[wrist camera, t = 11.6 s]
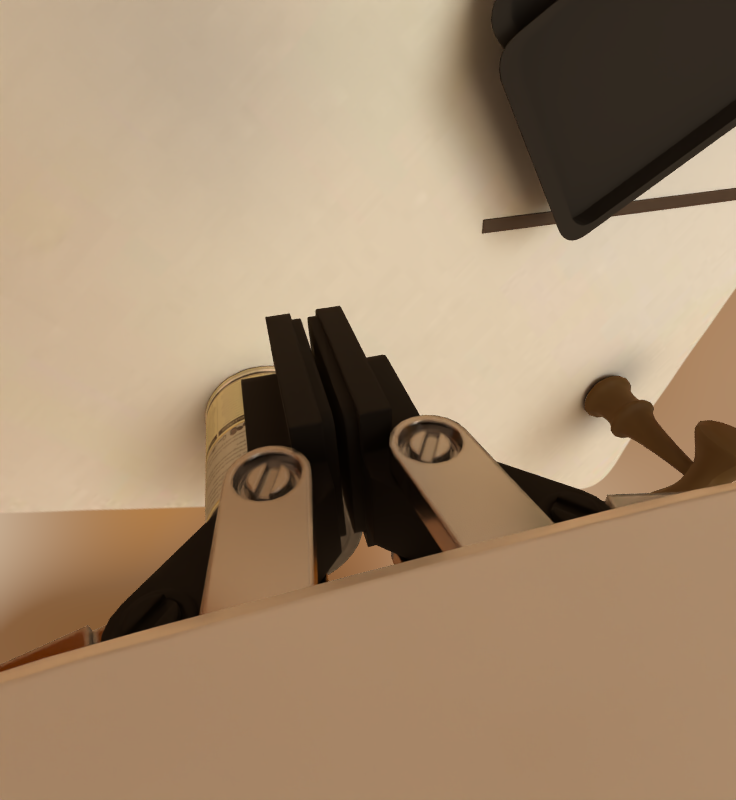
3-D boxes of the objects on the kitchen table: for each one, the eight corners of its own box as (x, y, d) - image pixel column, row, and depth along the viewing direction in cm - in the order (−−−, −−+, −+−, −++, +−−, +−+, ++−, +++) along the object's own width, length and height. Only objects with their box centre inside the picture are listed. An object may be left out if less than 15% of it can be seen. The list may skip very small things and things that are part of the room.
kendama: (647, 357, 51) (842, 495, 35) (601, 429, 56) (754, 579, 40) (604, 351, 49) (791, 495, 33) (560, 426, 54) (704, 583, 38)
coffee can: (345, 389, 43) (392, 508, 32) (289, 470, 47) (314, 601, 36) (236, 345, 38) (248, 468, 27) (184, 440, 42) (175, 582, 31)
